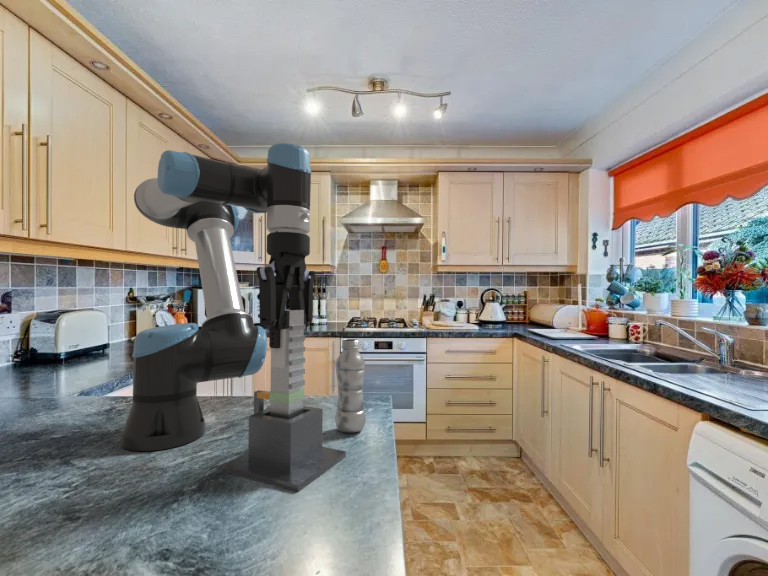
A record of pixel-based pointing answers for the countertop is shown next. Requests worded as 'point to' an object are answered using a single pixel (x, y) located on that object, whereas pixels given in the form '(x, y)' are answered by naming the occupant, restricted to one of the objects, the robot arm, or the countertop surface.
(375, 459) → the countertop surface
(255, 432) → the stand
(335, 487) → the countertop surface
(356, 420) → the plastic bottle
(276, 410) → the column
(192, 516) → the countertop surface
